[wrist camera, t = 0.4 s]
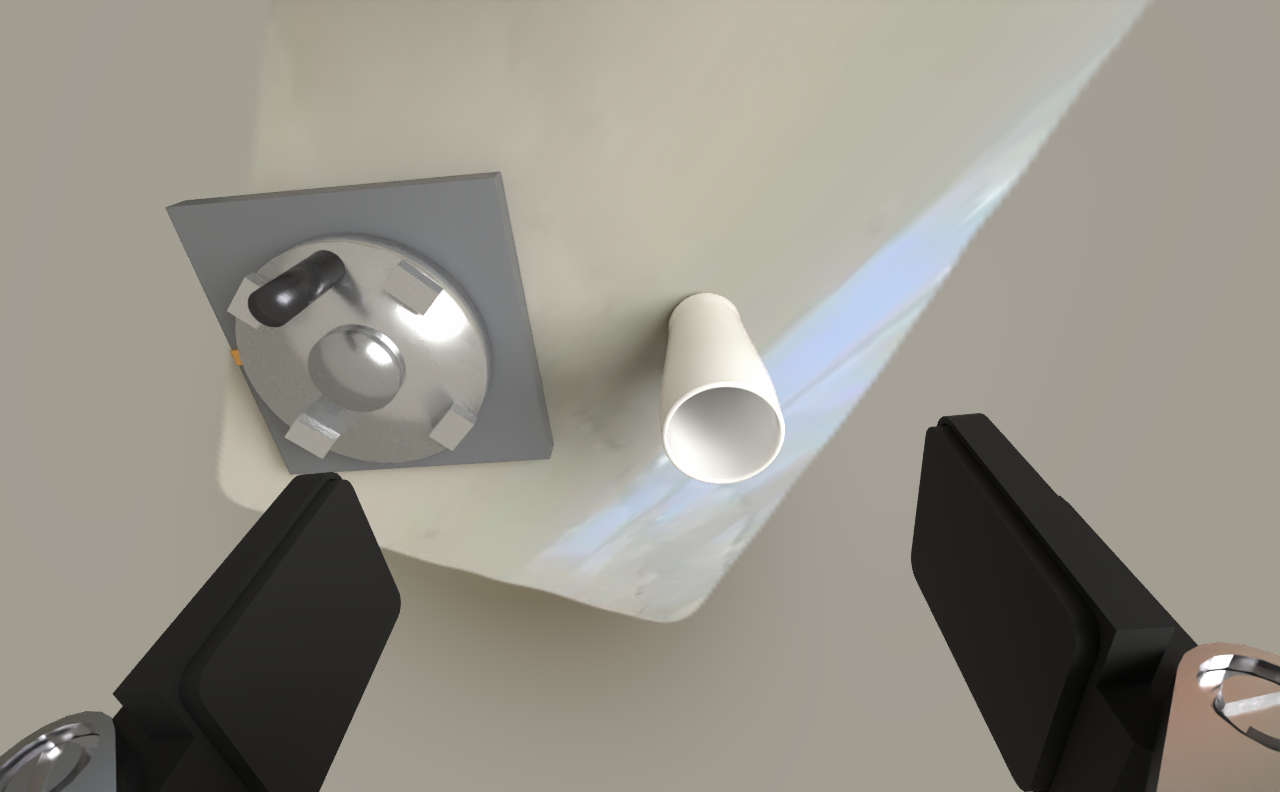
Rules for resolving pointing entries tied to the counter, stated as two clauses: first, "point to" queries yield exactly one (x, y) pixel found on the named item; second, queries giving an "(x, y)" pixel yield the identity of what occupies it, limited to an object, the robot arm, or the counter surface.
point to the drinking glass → (717, 395)
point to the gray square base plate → (424, 220)
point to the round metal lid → (364, 348)
